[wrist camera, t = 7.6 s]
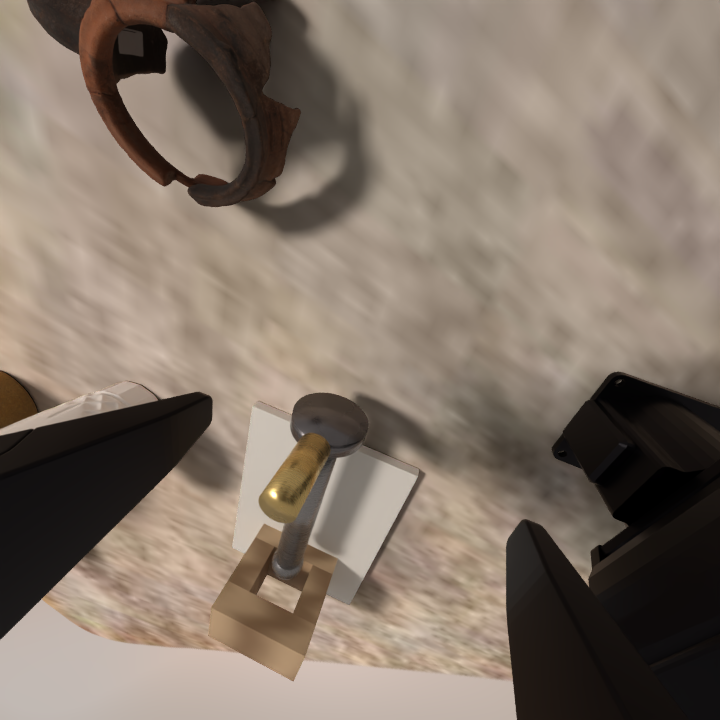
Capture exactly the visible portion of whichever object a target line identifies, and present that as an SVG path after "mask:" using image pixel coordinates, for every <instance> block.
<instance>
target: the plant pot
mask: <svg viewBox="0 0 720 720" xmlns="http://www.w3.org/2000/svg"><path fill="white" fill-rule="evenodd" d="M35 414H38V412H37V408H36V406H35V404H34V402H33V400H32V398H31V397H30V396H29V394H28V393H27V392H26V390H25V389H24V388H23V387H22V386H21V385H20V384H19V383H18V382H17V381H16V380H15V379H13V378H12V377H11V376H9V375H7V374H6V373H4V372H2V371H0V429H1V428H4V427H6V426H9V425H11V424H13V423H16V422H18V421H21V420H23V419H25V418H28V417H30V416H33V415H35Z"/></svg>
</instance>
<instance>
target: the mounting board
mask: <svg viewBox="0 0 720 720" xmlns="http://www.w3.org/2000/svg"><path fill="white" fill-rule="evenodd" d="M291 417H292V415H290V414H288V413H286V412H283V411H281V410H278V409H276V408H274V407H271V406H269V405H267V404H264V403H262V402H260V401H258V402H256V403H255V404H254V405H253V407H252V414H251V421H250V428H249V434H248V441H247V448H246V455H245V462H244V469H243V476H242V483H241V490H240V497H239V504H238V511H237V518H236V524H235V531H234V538H233V545H232V548H234V549H236V550H238V551H240V552H242V553H244V554H245V553H246V551H247V550H248V548H249V547H250V545H251V543H252V542H253V540H254V539H255V537H256V535H257V534H258V532H259V531H260V529H261V527H262V526H263V524H266V525H268V526H270V527H272V528H275V529H277V530H279V531H281V532H282V530H283V526H284V523H279V522H276V521H274V520H272V519H271V518H269V517H268V516H267V515H265V514H264V512H263V511H262V510H261V508H260V506H259V502H258V500H259V496H260V495H261V493H262V492H263V491H264V489H265V488H266V486H267V485H268V483H269V482H270V481H271V479H272V478H273V476H274V475H275V474H276V472H277V471H278V469H279V468H280V466H281V465H282V464H283V462H284V461H285V459H286V458H287V457H288V455H289V454H290V452H291V451H292V449H293V448H294V447H295V445H296V444H297V442H296V440H295V439H294V437H293V436H292V433H291V430H290V422H291ZM418 473H419V469H418V468H416V467H413V466H411V465H408V464H406V463H404V462H401V461H399V460H397V459H394V458H392V457H390V456H387V455H385V454H382V453H380V452H378V451H375V450H373V449H371V448H368V447H366V446H364V445H362V446H361V447H360V448H359V449H358V450H357V451H356V452H355V453H353V454H351V455H349V456H346V457H341V458H337V459H336V462H335V465H334V468H333V471H332V474H331V477H330V480H329V483H328V486H327V488H326V491H325V494H324V497H323V500H322V503H321V506H320V509H319V512H318V515H317V518H316V521H315V524H314V527H313V530H312V533H311V536H310V538H309V541H308V545H310V546H312V547H315V548H317V549H319V550H321V551H323V552H325V553H327V554H329V555H331V556H334V557H336V558H338V560H337V563H336V566H335V569H334V572H333V575H332V578H331V581H330V584H329V587H328V590H327V593H326V594H327V595H329V596H331V597H333V598H335V599H338V600H340V601H342V602H344V603H346V604H348V605H350V603H351V601H352V599H353V597H354V595H355V594H356V592H357V590H358V588H359V586H360V584H361V582H362V580H363V579H364V577H365V575H366V573H367V571H368V569H369V567H370V566H371V564H372V562H373V560H374V558H375V556H376V554H377V552H378V551H379V549H380V547H381V545H382V543H383V541H384V539H385V537H386V536H387V534H388V532H389V530H390V528H391V526H392V524H393V522H394V521H395V519H396V517H397V515H398V513H399V511H400V509H401V508H402V506H403V504H404V502H405V500H406V498H407V496H408V494H409V493H410V491H411V489H412V487H413V485H414V483H415V481H416V479H417V478H418Z"/></svg>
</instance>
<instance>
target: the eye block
mask: <svg viewBox="0 0 720 720" xmlns="http://www.w3.org/2000/svg"><path fill="white" fill-rule="evenodd" d="M281 534H282V532H281V531H279V530H277V529H275V528H272V527H270V526H268V525H266V524H263V526H262V527H261V529H260V531H259V532H258V534H257V535H256V537H255V539H254V540H253V542H252V543H251V545H250V547H249V548H248V550H247V551H246V553H245V555H244V556H243V558H242V559H241V561H240V563H239V564H238V566H237V567H236V569H235V571H234V572H233V574H232V575H231V577H230V579H229V580H228V582H227V583H226V585H225V587H224V588H223V590H222V591H221V593H220V595H219V596H218V598H217V599H216V601H215V603H214V604H213V606H212V607H211V616H210V625H209V634H208V636H210V637H212V638H213V639H215V640H217V641H219V642H221V643H223V644H225V645H226V646H228V647H230V648H232V649H234V650H236V651H238V652H239V653H241V654H243V655H245V656H247V657H249V658H251V659H253V660H254V661H256V662H258V663H260V664H262V665H264V666H266V667H267V668H269V669H271V670H273V671H275V672H277V673H279V674H281V675H283V676H284V677H286V678H288V679H290V680H292V681H294V679H295V677H296V674H297V672H298V670H299V668H300V666H301V664H302V662H303V660H304V658H305V655H306V652H307V649H308V646H309V643H310V640H311V637H312V634H313V631H314V628H315V625H316V622H317V619H318V616H319V613H320V611H321V608H322V605H323V602H324V599H325V596H326V593H327V590H328V587H329V584H330V581H331V578H332V575H333V572H334V569H335V566H336V563H337V560H338V558H336V557H334V556H331V555H329V554H327V553H325V552H323V551H321V550H319V549H317V548H315V547H312V546H310V545H308V544H307V547H306V550H305V553H304V563H303V566H302V569H301V571H300V572H299V574H298V575H297V576H296V577H294V578H292V579H290V580H282V579H279V578H278V577H277V576H276V575H275V574H274V572H273V569H272V558H273V555H274V553H275V551H276V550H277V549H278V545H279V541H280V537H281ZM266 575H269V576H272V577H274V578H276V579H278V580H280V581H282V582H284V583H286V584H288V585H290V586H292V587H294V588H296V589H298V590H300V591H302V593H301V595H300V598H299V600H298V603H297V605H296V608H295V610H294V613H291V612H289V611H287V610H285V609H283V608H281V607H279V606H277V605H275V604H273V603H271V602H269V601H267V600H265V599H263V598H261V597H259V596H257V593H258V591H259V589H260V587H261V585H262V583H263V581H264V579H265V577H266Z"/></svg>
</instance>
